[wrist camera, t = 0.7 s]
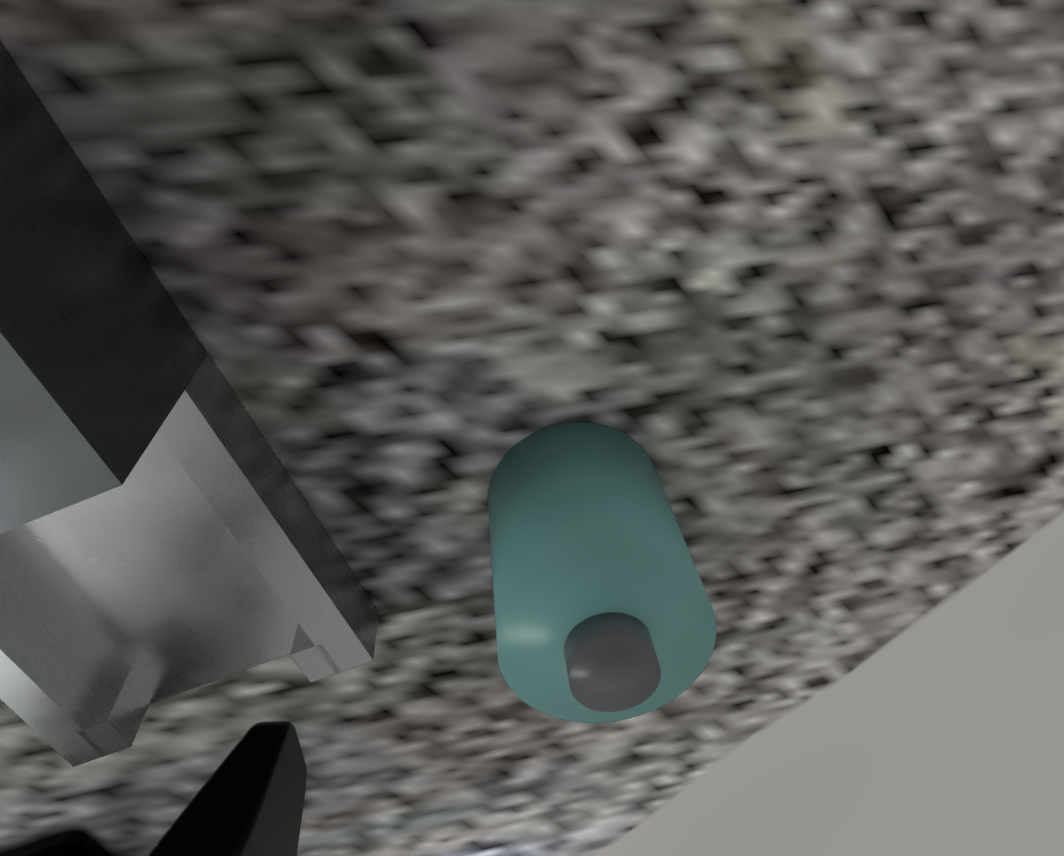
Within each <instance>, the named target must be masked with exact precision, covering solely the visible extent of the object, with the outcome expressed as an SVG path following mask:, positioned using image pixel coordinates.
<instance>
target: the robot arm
mask: <svg viewBox="0 0 1064 856" xmlns="http://www.w3.org/2000/svg"><path fill="white" fill-rule="evenodd" d="M306 778H307V773H306V764H305V760H304V757H303V753H302V750H301V747H300V743H299V740H298V737H297V733H296V730H295V728H294V726H293V724H291V723H290V722H287V721H282V722H260V723H257V724H255V725H253V726H252V727H251V728H250V729H249V730H248V731H247V733H246V734H245V735H244V736H243V737H242V739H241V740H240V741H239V742H238V744H237V745H236V746H235V747H234V749H233V750H232V751H231V752H230V754H229V755H228V756H227V757H226V759H225V760H224V761H223V762H222V764H221V765H220V766H219V767H218V769H217V770H216V771H215V772H214V774H213V775H212V776H211V777H210V779H209V780H208V781H207V782H206V783H205V785H204V786H203V787H202V788H201V790H200V791H199V792H198V793H197V795H196V796H195V797H194V798H193V800H192V801H191V802H190V803H189V805H188V806H187V807H186V808H185V810H184V811H183V812H182V813H181V815H180V816H179V817H178V818H177V820H176V821H175V822H174V823H173V825H172V826H171V827H170V828H169V829H168V831H167V832H166V833H165V834H164V836H163V837H162V838H161V839H160V841H159V842H158V843H157V844H156V846H155V847H154V848H153V849H152V851H151V852H150V853H149V854H148V856H297V848H298V841H299V834H300V826H301V819H302V812H303V804H304V797H305V789H306ZM0 856H112V855H110V854H109V853H108V852H107V851H106V850H105V849H104V848H102V847H101V846H100V845H99V844H98V843H97V842H96V841H95V840H93V839H92V838H91V837H90V836H89V835H87V834H86V833H84V832H80V831H69V832H65V833H62V834H59V835H57V836H54V837H51V838H48V839H45V840H42V841H39V842H36V843H33V844H30V845H28V846H25V847H22V848H19V849H16V850H13V851H10V852H7V853H4V854H1V855H0Z"/></svg>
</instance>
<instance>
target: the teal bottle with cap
mask: <svg viewBox="0 0 1064 856" xmlns="http://www.w3.org/2000/svg"><path fill="white" fill-rule="evenodd" d="M488 513H489V528H490V544H491V560H492V576H493V591H494V607H495V623H496V638H497V653H498V663H499V666H500V670H501V673H502V675H503V677H504V679H505V681H506V683H507V684H508V686H509V687H510V688H511V690H512V691H513V692H514V693H515V694H516V695H517V696H518V697H519V698H520V699H521V700H522V701H524V702H525V703H526V704H528V705H529V706H531V707H533V708H534V709H536V710H538V711H540V712H542V713H544V714H547V715H549V716H552V717H556V718H559V719H563V720H568V721H573V722H583V723H603V722H613V721H619V720H624V719H629V718H632V717H636V716H639V715H642V714H645V713H647V712H650V711H653V710H655V709H657V708H659V707H661V706H663V705H665V704H666V703H668V702H669V701H671V700H673V699H674V698H676V697H677V696H678V695H680V694H681V693H682V692H684V691H685V690H686V689H687V688H688V687H689V686H690V685H691V684H692V683H693V682H694V681H695V680H696V679H697V678H698V676H699V675H700V674H701V673H702V671H703V670H704V668H705V666H706V665H707V663H708V661H709V659H710V657H711V655H712V652H713V649H714V645H715V641H716V619H715V616H714V612H713V609H712V606H711V604H710V601H709V599H708V596H707V594H706V591H705V589H704V587H703V584H702V582H701V579H700V577H699V574H698V572H697V570H696V567H695V565H694V562H693V560H692V557H691V555H690V552H689V550H688V548H687V545H686V543H685V540H684V538H683V535H682V533H681V530H680V528H679V526H678V523H677V521H676V518H675V516H674V513H673V511H672V509H671V506H670V504H669V501H668V499H667V496H666V494H665V491H664V489H663V487H662V484H661V482H660V479H659V477H658V474H657V472H656V469H655V467H654V465H653V463H652V461H651V459H650V457H649V456H648V454H647V453H646V451H645V450H644V449H643V448H642V447H641V446H640V445H639V444H638V443H637V442H636V441H635V440H633V439H632V438H631V437H630V436H628V435H626V434H624V433H623V432H621V431H619V430H616V429H614V428H612V427H608V426H605V425H601V424H595V423H588V422H573V423H564V424H559V425H554V426H551V427H548V428H544V429H542V430H540V431H537V432H535V433H533V434H531V435H529V436H528V437H526V438H524V439H523V440H521V441H520V442H519V443H518V444H516V445H515V446H514V447H513V448H512V449H511V450H510V451H509V452H508V453H507V454H506V455H505V456H504V457H503V459H502V460H501V461H500V463H499V464H498V466H497V468H496V469H495V471H494V474H493V476H492V479H491V481H490V486H489V490H488Z"/></svg>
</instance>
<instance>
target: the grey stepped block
mask: <svg viewBox="0 0 1064 856" xmlns="http://www.w3.org/2000/svg"><path fill="white" fill-rule="evenodd" d="M378 617H379V612H378V610H377V609H376V607H375V606H374V604H373V603H372V601H371V600H370V598H369V597H368V595H367V594H366V592H365V591H364V589H363V588H362V586H361V585H360V583H359V582H358V580H357V579H356V577H355V576H354V574H353V573H352V571H351V570H350V568H349V567H348V565H347V563H346V562H345V560H344V559H343V557H342V556H341V554H340V553H339V551H338V550H337V548H336V547H335V545H334V544H333V542H332V541H331V539H330V538H329V536H328V535H327V533H326V532H325V530H324V529H323V527H322V526H321V524H320V523H319V521H318V520H317V518H316V517H315V515H314V514H313V512H312V511H311V509H310V508H309V506H308V505H307V503H306V502H305V500H304V499H303V497H302V496H301V494H300V493H299V491H298V490H297V488H296V487H295V485H294V483H293V482H292V480H291V479H290V477H289V476H288V474H287V473H286V471H285V470H284V468H283V467H282V465H281V464H280V462H279V461H278V459H277V458H276V456H275V455H274V453H273V452H272V450H271V449H270V447H269V446H268V444H267V443H266V441H265V440H264V438H263V437H262V435H261V434H260V432H259V431H258V429H257V428H256V426H255V425H254V423H253V422H252V420H251V419H250V417H249V416H248V414H247V413H246V411H245V410H244V408H243V406H242V405H241V403H240V402H239V400H238V399H237V397H236V396H235V394H234V393H233V391H232V390H231V388H230V387H229V385H228V384H227V382H226V381H225V379H224V378H223V376H222V375H221V373H220V372H219V370H218V369H217V367H216V366H215V364H214V363H213V361H212V360H211V358H210V357H209V355H208V354H207V352H206V351H205V349H204V348H203V346H202V345H201V343H200V342H199V340H198V339H197V337H196V336H195V334H194V333H193V331H192V329H191V328H190V326H189V325H188V323H187V322H186V320H185V319H184V317H183V316H182V314H181V313H180V311H179V310H178V308H177V307H176V305H175V304H174V302H173V301H172V299H171V298H170V296H169V295H168V293H167V292H166V290H165V289H164V287H163V286H162V284H161V283H160V281H159V280H158V278H157V277H156V275H155V274H154V272H153V271H152V269H151V268H150V266H149V265H148V263H147V262H146V260H145V259H144V257H143V256H142V254H141V252H140V251H139V249H138V248H137V246H136V245H135V243H134V242H133V240H132V239H131V237H130V236H129V234H128V233H127V231H126V230H125V228H124V227H123V225H122V224H121V222H120V221H119V219H118V218H117V216H116V215H115V213H114V212H113V210H112V209H111V207H110V206H109V204H108V203H107V201H106V200H105V198H104V197H103V195H102V194H101V192H100V191H99V189H98V188H97V186H96V185H95V183H94V182H93V180H92V179H91V177H90V176H89V174H88V172H87V171H86V169H85V168H84V166H83V165H82V163H81V162H80V160H79V159H78V157H77V156H76V154H75V153H74V151H73V150H72V148H71V147H70V145H69V144H68V142H67V141H66V139H65V138H64V136H63V135H62V133H61V132H60V130H59V129H58V127H57V126H56V124H55V123H54V121H53V120H52V118H51V117H50V115H49V114H48V112H47V111H46V109H45V108H44V106H43V105H42V103H41V102H40V100H39V99H38V97H37V95H36V94H35V92H34V91H33V89H32V88H31V86H30V85H29V83H28V82H27V80H26V79H25V77H24V76H23V74H22V73H21V71H20V70H19V68H18V67H17V65H16V64H15V62H14V61H13V59H12V58H11V56H10V55H9V53H8V52H7V50H6V49H5V47H4V46H3V44H2V43H1V41H0V699H1V700H2V701H3V702H5V703H6V704H7V705H8V706H9V707H10V708H11V709H12V710H13V711H14V712H15V713H16V714H17V715H18V716H20V717H21V718H22V719H23V720H24V721H25V722H26V723H27V724H28V725H29V726H30V727H31V728H32V729H33V730H35V731H36V732H37V733H38V734H39V735H40V736H41V737H42V738H43V739H44V740H45V741H46V742H47V743H49V744H50V745H51V746H52V747H53V748H54V749H55V750H56V751H57V752H58V753H59V754H60V755H61V756H62V757H64V758H65V759H66V760H67V761H68V762H69V763H70V764H71V765H72V766H73V767H74V766H77V765H80V764H83V763H86V762H88V761H91V760H94V759H97V758H100V757H103V756H105V755H108V754H111V753H114V752H117V751H119V750H122V749H125V748H128V747H131V746H132V743H133V741H134V739H135V736H136V734H137V731H138V729H139V727H140V724H141V722H142V720H143V717H144V715H145V713H146V710H147V708H148V705H149V704H151V703H154V702H157V701H160V700H162V699H165V698H168V697H171V696H173V695H176V694H179V693H182V692H184V691H187V690H190V689H193V688H196V687H198V686H201V685H204V684H207V683H209V682H212V681H215V680H218V679H220V678H223V677H226V676H229V675H232V674H234V673H237V672H240V671H243V670H245V669H248V668H251V667H254V666H256V665H259V664H262V663H265V662H268V661H270V660H273V659H276V658H279V657H281V656H284V655H287V654H290V656H291V657H292V659H293V660H294V661H295V662H296V664H297V665H298V666H299V668H300V669H301V670H302V672H303V673H304V674H305V675H306V677H307V678H308V679H309V681H310V682H314V681H317V680H319V679H322V678H325V677H328V676H331V675H333V674H336V673H339V672H342V671H345V670H348V669H350V668H353V667H356V666H359V665H362V664H364V663H367V662H370V661H373V658H374V650H375V642H376V633H377V625H378Z"/></svg>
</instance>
